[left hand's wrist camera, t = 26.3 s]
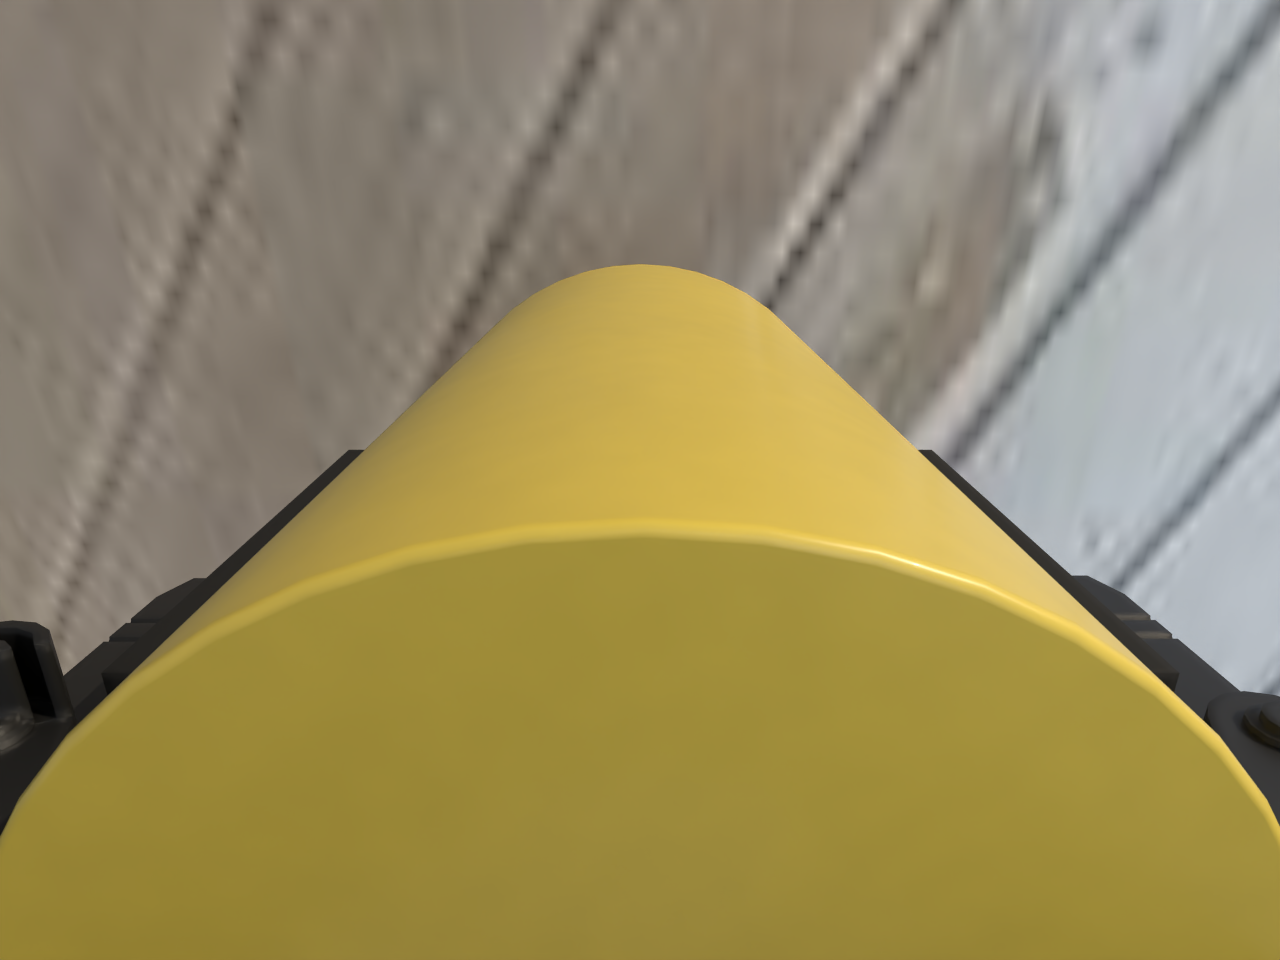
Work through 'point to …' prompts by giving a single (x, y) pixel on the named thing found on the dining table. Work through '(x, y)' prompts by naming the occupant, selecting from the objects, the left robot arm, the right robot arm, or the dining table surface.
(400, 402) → the dining table surface
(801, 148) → the dining table surface
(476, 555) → the cylinder
